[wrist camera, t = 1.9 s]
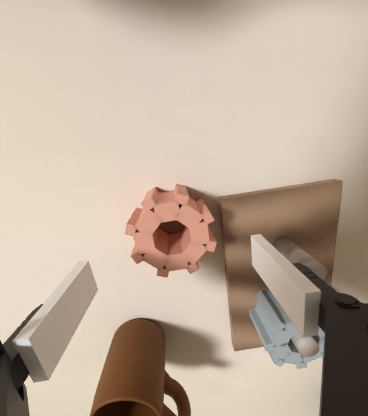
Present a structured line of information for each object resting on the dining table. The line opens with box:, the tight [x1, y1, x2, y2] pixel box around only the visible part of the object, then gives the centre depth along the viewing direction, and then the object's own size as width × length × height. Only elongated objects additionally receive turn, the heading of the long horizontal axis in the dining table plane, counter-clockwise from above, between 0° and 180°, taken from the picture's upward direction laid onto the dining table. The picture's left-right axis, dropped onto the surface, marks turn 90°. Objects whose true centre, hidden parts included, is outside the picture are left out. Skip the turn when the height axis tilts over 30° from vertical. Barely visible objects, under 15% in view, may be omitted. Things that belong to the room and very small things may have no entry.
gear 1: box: [125, 184, 217, 277], centre depth 21 cm, size 9×9×5 cm
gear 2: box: [249, 290, 325, 369], centre depth 25 cm, size 9×9×5 cm
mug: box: [90, 319, 191, 416], centre depth 25 cm, size 12×8×9 cm, turn 56°
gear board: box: [219, 179, 342, 357], centre depth 23 cm, size 24×14×7 cm, turn 8°
